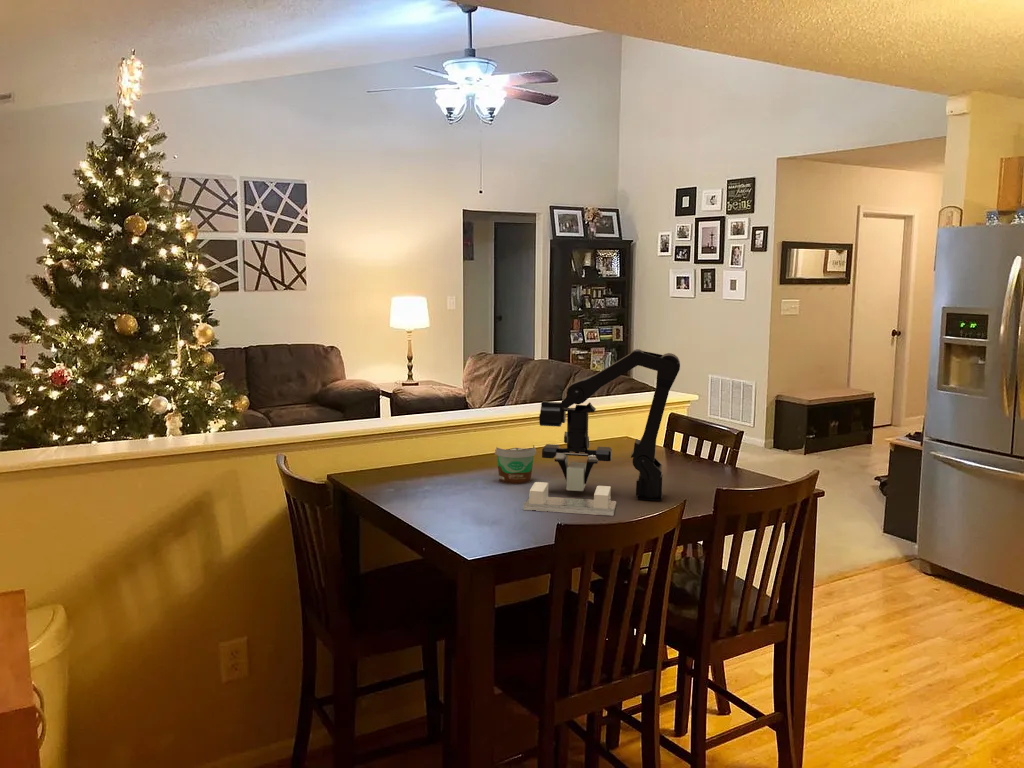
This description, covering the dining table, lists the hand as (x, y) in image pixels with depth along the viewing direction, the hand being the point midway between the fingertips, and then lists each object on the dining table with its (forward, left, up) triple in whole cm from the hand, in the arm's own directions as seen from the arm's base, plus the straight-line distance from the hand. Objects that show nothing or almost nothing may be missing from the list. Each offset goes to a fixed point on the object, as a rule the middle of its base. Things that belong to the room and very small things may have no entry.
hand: (576, 483), depth 229 cm
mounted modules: (0, +14, -3) cm, 14 cm away
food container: (+18, -8, -3) cm, 20 cm away
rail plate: (0, +14, -3) cm, 14 cm away
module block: (0, 0, -1) cm, 1 cm away
